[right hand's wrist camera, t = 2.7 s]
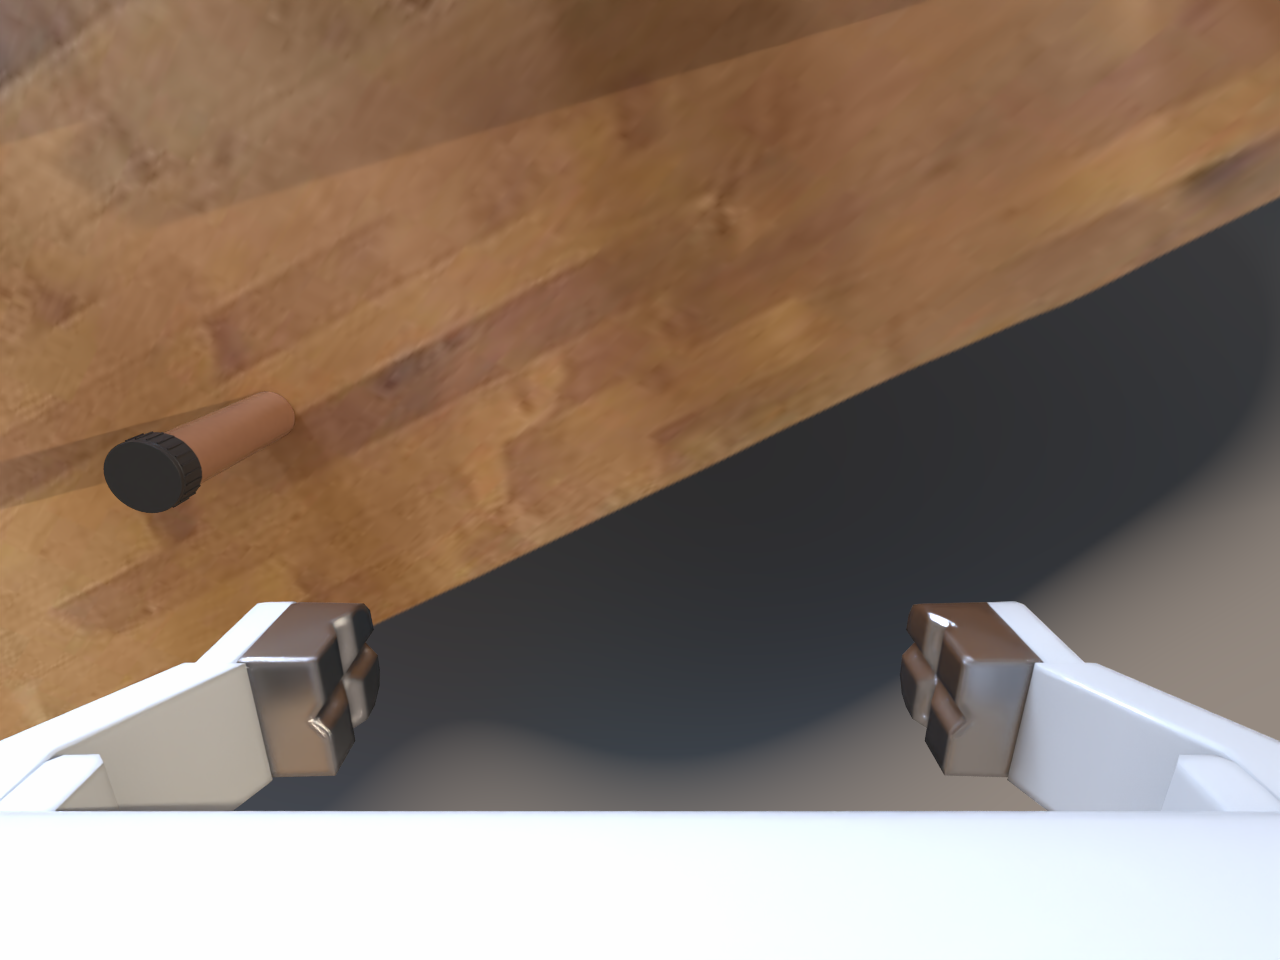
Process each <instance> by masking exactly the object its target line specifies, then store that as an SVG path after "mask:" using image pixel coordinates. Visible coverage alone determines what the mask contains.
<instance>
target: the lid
mask: <svg viewBox="0 0 1280 960" xmlns="http://www.w3.org/2000/svg"><path fill="white" fill-rule="evenodd" d="M201 468H202V467H201V465H200V462H199V459H198V457H197V456H196V454H195V453H194V451H193V450H192V449H191V448H190V447H189V446H188V445H187V444H186V443H185V442H184V441H182V440H180V439H178V438H177V437H175V436H173V435H169V434H166V433H164V432H161V433H159V432H149V433H147V434H144V433H143V434H140V435H138V436H135V437H133V438H130V439H128V440H125V442H123V443H121V444H118V445H117V446H115V447H114V448H113V449H112V450H111V451H110V452H109V453H108V455H107V457H106V459H105V462H104V476H105V479H106V482H107V484H108V486H109V488H110V490H111V491H112V492H113V494H114V495H115V496H116V497H117V498H118V499H119V500H120V501H121V502H123V503H124V504H126V505H127V506H129V507H131V508H133V509H135V510H138V511H141V512H146V513H158V512H163V511H166V510H168V509H170V508H171V507H173V508H174V507H176V506H177V505H179V504H181V503H182V502H184V501H186V500H187V499H189V497H191V496H192V495H194V494H196V491H197V489H198V488H199V487H200V486H201V485H200V483H201V480H202V469H201Z"/></svg>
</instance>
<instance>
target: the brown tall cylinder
mask: <svg viewBox="0 0 1280 960" xmlns="http://www.w3.org/2000/svg"><path fill="white" fill-rule="evenodd" d="M294 423H295V415H294V411H293V409H292V407H291V405H290V404H289V403H288V401H287V400H286V399H284V398H283V397H282V396H280V395H278V394H276V393H273V392H259V393H256V394H254V395H252V396H249V397H247V398H244V399H242V400H240V401H237V402H235V403H233V404H230V405H228V406H225V407H223V408H221V409H218V410H216V411H213V412H211V413H209V414H206V415H204V416H201V417H199V418H197V419H194V420H192V421H190V422H187V423H185V424H182V425H180V426H178V427H175V428H173V429H170V430H168V431H166V432H164V433H166V434H169V435H173V436H175V437H177V438H178V439H180V440H182V441H184V442H185V443H186V444H187V445H188V446H189V447H190V448H191V449H192V450H193V451H194V453H195V454H196V456H197V457H198V459H199V462H200V465H201V467H202V468H201V469H202V480H201V483H200V484H202V483H203V482H205V481H207V480H209V479H210V478H212V477H214V476H216V475H217V474H219V473H221V472H223V471H224V470H226V469H228V468H230V467H231V466H233V465H235V464H237V463H238V462H240V461H242V460H244V459H245V458H247V457H249V456H251V455H252V454H254V453H256V452H258V451H259V450H261V449H263V448H265V447H266V446H268V445H270V444H272V443H273V442H275V441H277V440H279V439H280V438H282V437H284V436H286V435H287V434H288V433H289V432H290V431H291V430H292V428H293V426H294Z"/></svg>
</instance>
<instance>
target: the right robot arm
mask: <svg viewBox="0 0 1280 960" xmlns="http://www.w3.org/2000/svg"><path fill="white" fill-rule="evenodd" d="M906 630H907V631H908V633H909V634H910V636H911V637H912V639H913V641H914V642H915V643H914V644H913V645H912V646H911V647H910V648H909V649H908V650H907V651H906V652H905V653H904V654H903V655H902V663H901V671H900V679H901V689H902V695H903V699H904V702H905V705H906V707H907V709H908V711H909V713H910V715H911V717H912V719H914V720H915V721H917V722H918V723H920V724H921V725H923V726H924V727H926V728H927V731H926V737H925V742H926V744H927V745H928V747H929V749H930V751H931V752H932V754H933V756H934V758H935V759H936V761H937V763H938V765H939V766H940V768H941V770H942V772H943V773H944V775H948V776H985V777H1008V779H1007V780H1008V781H1009V782H1011V783H1012V784H1013V785H1015V786H1016V787H1017V788H1019V789H1020V790H1021V791H1022V792H1024V793H1025V794H1026V795H1028V796H1029V797H1030V798H1032V799H1033V800H1034V801H1036V802H1037V803H1038V804H1039V805H1041V806H1042V807H1043V808H1045V809H1046V810H1047V811H233V810H234V809H236V808H237V807H238V806H240V805H241V804H242V803H243V802H245V801H246V800H247V799H249V798H250V797H251V796H252V795H254V794H255V793H256V792H258V791H259V790H260V789H262V788H263V787H264V786H266V785H267V784H268V783H269V782H271V781H272V777H294V776H329V775H336V773H337V772H338V770H339V768H340V767H341V765H342V763H343V761H344V759H345V758H346V756H347V754H348V752H349V751H350V749H351V747H352V745H353V744H354V742H355V737H354V731H353V728H354V727H356V726H357V725H359V724H360V723H362V722H363V721H365V720H367V719H368V717H369V715H370V713H371V711H372V709H373V707H374V705H375V702H376V698H377V694H378V689H379V679H380V669H379V661H378V655H377V654H376V653H375V652H374V651H373V650H372V649H371V648H370V647H369V646H368V645H367V644H366V643H365V642H366V641H367V639H368V637H369V636H370V634H371V633H372V631H373V624H372V619H371V613H370V610H369V609H368V608H367V606H366V605H365V604H364V603H312V602H299V603H296V602H265V603H258V604H256V605H255V606H254V607H253V608H252V609H251V610H250V611H249V612H248V613H247V614H246V615H245V616H244V617H243V618H242V619H241V620H240V621H239V622H238V623H237V624H235V625H234V626H233V627H232V628H231V629H230V630H229V631H228V632H227V633H226V634H225V635H224V636H223V637H222V638H221V639H220V640H219V641H218V642H217V643H216V644H215V645H213V646H212V647H211V648H210V649H209V650H208V651H207V652H206V653H205V654H204V655H203V656H202V657H201V658H200V659H199V660H198V661H197V662H196V663H183V664H180V665H178V666H176V667H173V668H171V669H169V670H166V671H164V672H162V673H159V674H157V675H154V676H152V677H150V678H147V679H145V680H143V681H140V682H138V683H136V684H133V685H131V686H129V687H126V688H124V689H122V690H119V691H117V692H114V693H112V694H110V695H107V696H105V697H103V698H100V699H98V700H96V701H93V702H91V703H89V704H86V705H84V706H82V707H79V708H77V709H74V710H72V711H70V712H67V713H65V714H63V715H60V716H58V717H56V718H53V719H51V720H49V721H46V722H44V723H42V724H39V725H37V726H34V727H32V728H30V729H27V730H25V731H23V732H20V733H18V734H16V735H13V736H11V737H9V738H6V739H4V740H2V741H0V960H1280V741H1278V740H1276V739H1273V738H1271V737H1269V736H1266V735H1264V734H1262V733H1259V732H1257V731H1255V730H1252V729H1250V728H1247V727H1245V726H1243V725H1240V724H1238V723H1236V722H1233V721H1231V720H1229V719H1226V718H1224V717H1222V716H1219V715H1217V714H1215V713H1212V712H1210V711H1208V710H1205V709H1203V708H1201V707H1198V706H1196V705H1194V704H1191V703H1189V702H1186V701H1184V700H1182V699H1179V698H1177V697H1175V696H1172V695H1170V694H1168V693H1165V692H1163V691H1161V690H1158V689H1156V688H1154V687H1151V686H1149V685H1147V684H1144V683H1142V682H1139V681H1137V680H1135V679H1133V678H1130V677H1128V676H1125V675H1123V674H1121V673H1118V672H1116V671H1114V670H1111V669H1109V668H1107V667H1104V666H1102V665H1100V664H1097V663H1084V662H1083V661H1082V660H1081V659H1080V658H1079V657H1078V656H1077V655H1076V654H1075V653H1074V652H1073V651H1072V650H1071V649H1070V648H1069V647H1068V646H1067V645H1066V644H1064V643H1063V642H1062V641H1061V640H1060V639H1059V638H1058V637H1057V636H1056V635H1055V634H1054V633H1053V632H1052V631H1051V630H1050V629H1049V628H1048V627H1047V626H1046V625H1045V624H1044V623H1043V622H1042V621H1040V620H1039V619H1038V618H1037V617H1036V616H1035V615H1034V614H1033V613H1032V612H1031V611H1030V610H1029V609H1028V608H1027V607H1026V606H1025V605H1024V604H1021V603H1018V602H1015V601H1013V602H989V603H987V602H981V603H942V604H917V605H913V607H912V609H911V611H910V614H909V617H908V623H907V629H906Z"/></svg>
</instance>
